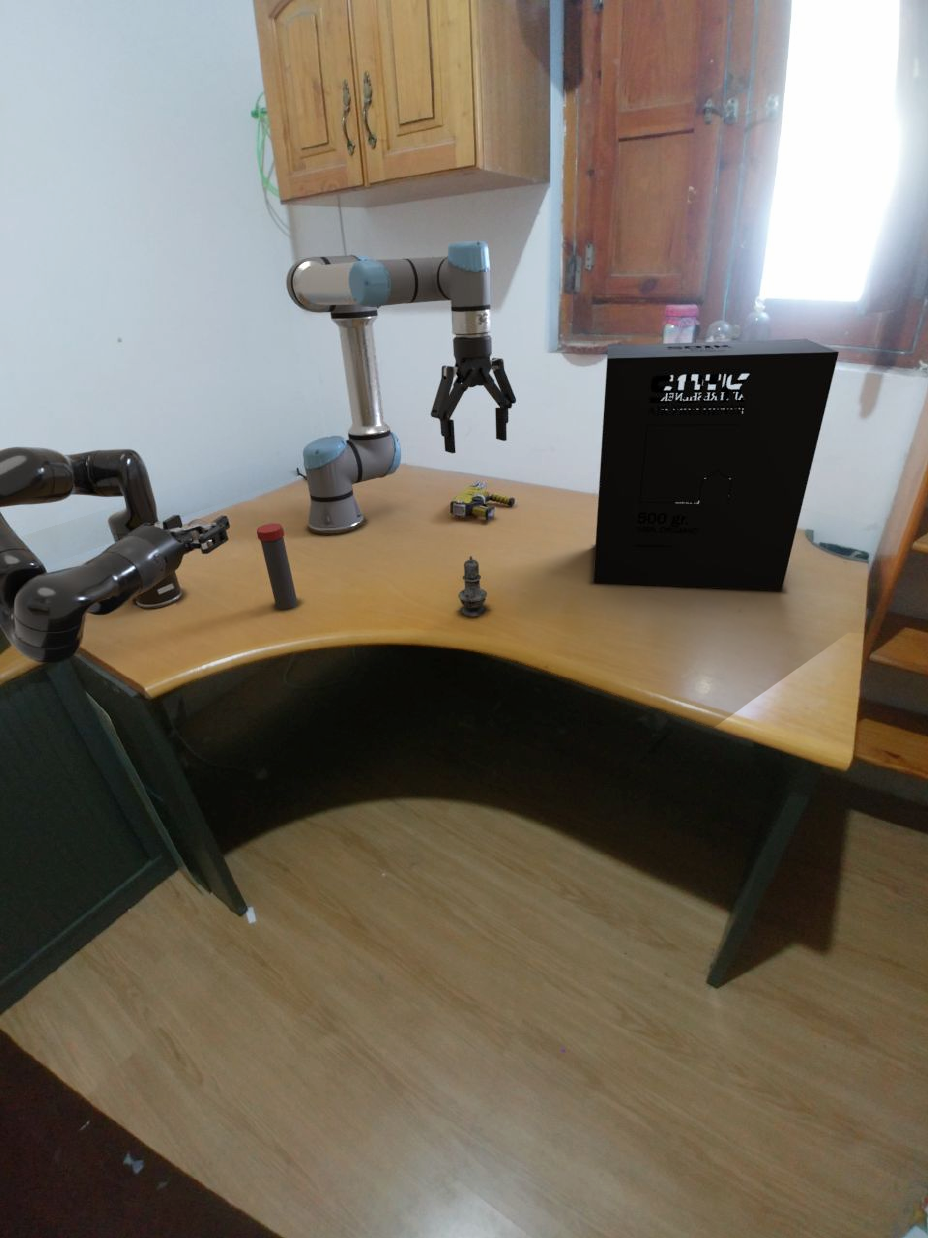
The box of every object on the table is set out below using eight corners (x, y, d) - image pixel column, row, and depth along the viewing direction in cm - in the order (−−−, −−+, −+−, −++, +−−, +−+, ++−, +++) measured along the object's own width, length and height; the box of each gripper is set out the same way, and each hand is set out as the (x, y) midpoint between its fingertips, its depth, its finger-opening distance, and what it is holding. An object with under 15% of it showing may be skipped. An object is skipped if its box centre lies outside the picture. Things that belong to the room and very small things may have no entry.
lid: (261, 532, 124) (259, 524, 123) (286, 531, 124) (284, 522, 123) (255, 542, 119) (253, 533, 118) (281, 540, 120) (279, 531, 119)
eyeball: (200, 546, 160) (194, 525, 157) (185, 542, 163) (179, 521, 160) (219, 538, 165) (213, 517, 162) (204, 535, 168) (198, 514, 165)
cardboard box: (760, 550, 140) (805, 338, 118) (781, 591, 123) (838, 351, 101) (595, 545, 148) (608, 345, 125) (593, 582, 131) (607, 358, 108)
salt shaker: (485, 617, 120) (483, 562, 114) (456, 616, 121) (452, 561, 115) (490, 603, 125) (488, 550, 119) (462, 602, 126) (459, 549, 120)
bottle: (278, 600, 131) (261, 526, 123) (299, 599, 131) (283, 525, 123) (274, 610, 127) (256, 535, 119) (295, 609, 128) (279, 533, 119)
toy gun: (523, 485, 181) (476, 478, 185) (501, 509, 161) (448, 500, 165) (521, 500, 184) (475, 493, 187) (499, 525, 163) (447, 517, 167)
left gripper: (105, 583, 88) (171, 541, 102) (192, 587, 86) (247, 542, 99) (86, 535, 84) (157, 498, 98) (176, 537, 82) (236, 498, 96)
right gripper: (429, 342, 108) (437, 460, 118) (533, 329, 120) (532, 437, 131) (407, 340, 113) (417, 454, 124) (508, 328, 125) (510, 432, 136)
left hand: (202, 520), depth 99 cm, fingers open, 8 cm apart
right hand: (476, 445), depth 127 cm, fingers open, 13 cm apart
